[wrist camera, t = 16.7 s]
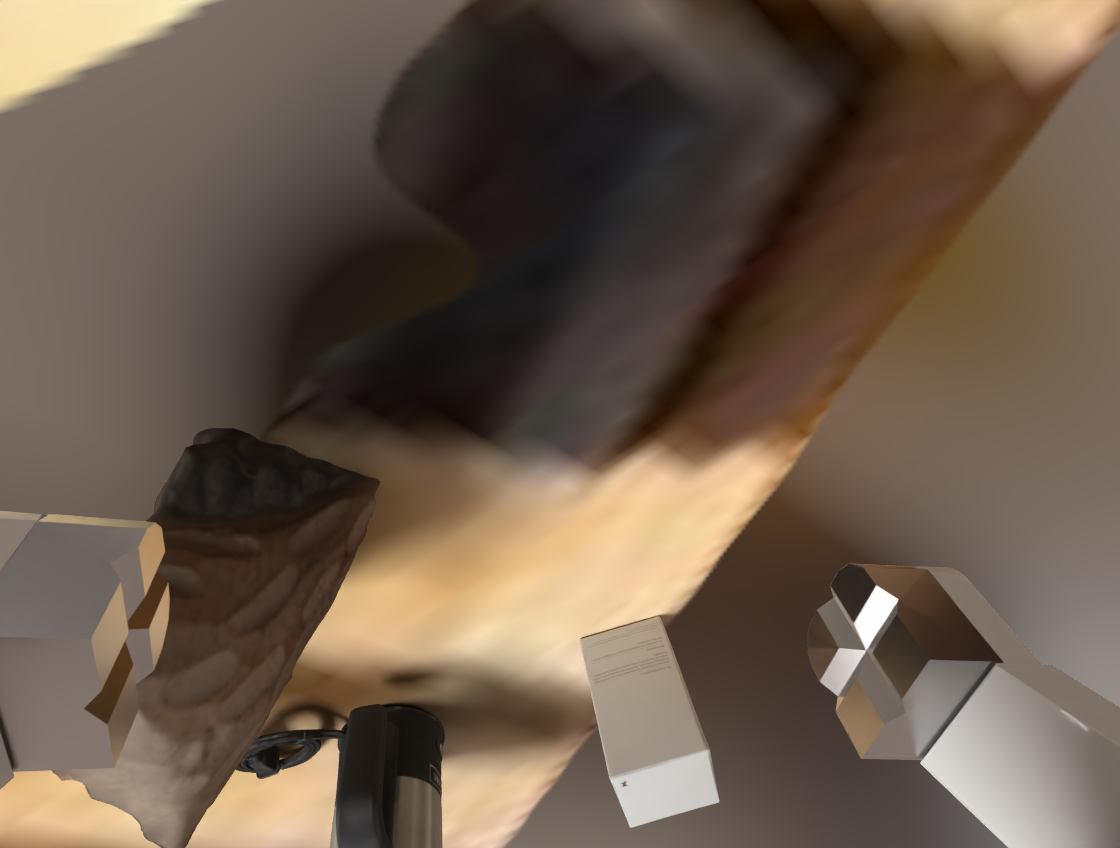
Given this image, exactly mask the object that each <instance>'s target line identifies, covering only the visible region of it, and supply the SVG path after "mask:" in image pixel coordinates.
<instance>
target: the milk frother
mask: <svg viewBox="0 0 1120 848" xmlns="http://www.w3.org/2000/svg"><path fill="white" fill-rule="evenodd" d="M327 738H333V739H338V749H339V751H340V753H339V769H338V781H337V792H336V801H335V809H334V817H333V825H332V833H331V842H330V848H442V807H441V795H442V789H441V761H442V746H443V743H444V730H443V727H442V725H441V724H440V722H439V721H438V720H437V719H436V718H435V717H433V716H432V715H430V714H428V713H427V712H424V711H422V710H419V709H415V708H410V707H400V706H399V707H396V706H390V707H385V708H384V706H383V705H381V704H375V705H367V706H362V707H359V708H355V709H354V710H352V711H351V713H350V716H349V721H348V722H347V723H346V724H345V725H344V727H343V728H342V730H330V729H315V730H294V731H285V732H278V733H273V734H268V735H265V736H261V737H258V738H256V739H255V740H254V741H253V744H252V746H251V747H250V748H249V750H248V751H247V753H246V754H245V755H244V757H243V758H242V760H241V761H240V763H239V764H238V766H237V768H236V770H238V771H242V772H251V773H256V775H257V777H258V778H259V779H264V778H267V777H270V776H272V775H276V774H278V772H279V770H280V769H282V770H284V769H287V768H290V767H293V766H296V765H299V764H301V763H304V762H306V761H307V760H309V759H310V758H312V756H314V755H315V754H316V753H317V752H318V751H319V749H320V747H321V742H320V739H327ZM289 744H301V745H305V747H304V748H303V749H302V750H300V751H299V752H297V753H296V754H294V755H292V756H289V757H287V758H284V759H281V760H279V748H278V746H280V745H289Z"/></svg>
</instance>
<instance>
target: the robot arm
mask: <svg viewBox="0 0 1120 848" xmlns="http://www.w3.org/2000/svg"><path fill="white" fill-rule="evenodd" d="M164 553H165V546H164V539H163V532H162V527H160V526H159V525H158V524H157V523H155V522H143V521H131V520H119V519H106V518H94V517H81V516H69V515H56V514H49V515H42V514H31V513H18V512H7V511H0V789H1V788H2V787H3V786H5V785H6V784H7V783H8V782H9V781H10V780H11V779H12V778H14V774H13V772H18V771H44V770H71V769H97V768H115V766H116V764H117V761H118V759H119V756H120V754H121V751H122V749H123V746H124V744H125V741H126V739H127V737H128V734H129V732H130V729H131V727H132V724H133V722H134V719H135V717H136V714H137V712H138V709H139V704H138V696H137V688H136V684H137V683H138V682H140V681H141V680H142V679H144V678H145V677H146V676H148V675H149V674H150V673H152V672H153V671H154V669H155V666H156V664H157V661H158V658H159V656H160V653H161V650H162V648H163V643H164V639H165V634H166V629H167V625H168V620H169V603H170V597H169V585H168V582H167V581H166V580H165V579H164V578H163V577H162V576H161V575H160V574H159V573H157V572H156V571H157V569H158V567H159V564H160V562H161V560H162V558H163V555H164ZM830 586H831V590H832V593H833V597H834V598H833V599H832V600H830V601H829V602H827V603H826V604H824V605H823V606H822V607H820V608H819V609H818V610H817V611H816V613H815V615H814V617H813V619H812V621H811V623H810V625H809V627H808V641H807V650H808V654H809V658H810V662H811V665H812V667H813V669H814V671H815V673H816V675H817V677H818V679H819V681H820V682H821V683H822V684H823V685H825V686H826V687H827V688H828V689H830V690H831V691H832V692H833V693H835V694H836V695H837V696H838V701H837V707H836V713H837V715H838V717H839V718H840V720H841V722H842V724H843V726H844V728H845V730H846V731H847V733H848V735H849V737H850V739H851V741H852V742H853V744H854V746H855V748H856V750H857V752H858V754H859V755H860V757H861V759H903V760H905V759H907V760H922V762H921V763H920V764H921V765H923V766H924V767H925V768H926V769H927V770H928V771H929V772H930V773H931V774H932V775H933V776H934V777H935V778H936V779H937V780H938V781H939V782H940V783H941V784H942V785H943V786H944V787H946V788H947V789H948V790H949V791H950V792H951V793H952V794H953V795H954V796H955V797H956V798H957V799H958V800H959V801H960V802H961V803H962V804H963V805H964V806H965V807H967V809H968V810H970V811H971V812H972V813H973V814H974V815H975V816H976V817H977V818H978V819H979V820H980V821H981V822H982V823H983V824H984V825H985V826H986V827H987V828H988V829H989V830H991V831H992V832H993V833H994V834H995V835H996V836H997V837H998V838H999V839H1000V840H1001V841H1002V842H1003V843H1004V844H1005V845H1006V846H1007V847H1008V848H1120V708H1119V707H1118V706H1116V705H1115V704H1113V703H1112V702H1110V701H1108V700H1107V699H1105V698H1103V697H1102V696H1100V695H1099V694H1097V693H1096V692H1094V691H1092V690H1091V689H1089V688H1088V687H1086V686H1084V685H1083V684H1081V683H1080V682H1078V681H1077V680H1075V679H1073V678H1072V677H1070V676H1068V675H1067V674H1065V673H1064V672H1062V671H1061V670H1059V669H1057V668H1056V667H1054V666H1053V665H1042V664H1041V663H1040V662H1039V661H1038V660H1037V659H1036V657H1035V656H1034V655H1033V654H1032V653H1031V652H1030V650H1029V649H1028V648H1027V647H1026V646H1025V645H1024V644H1023V642H1022V641H1021V640H1020V639H1019V638H1018V637H1017V636H1016V634H1015V633H1014V632H1013V631H1012V630H1011V629H1010V627H1009V626H1008V625H1007V624H1006V623H1005V622H1004V621H1003V619H1002V618H1001V617H1000V616H999V615H998V614H997V613H996V611H995V610H994V609H993V608H992V607H991V606H990V604H989V603H988V602H987V601H986V600H985V599H984V598H983V596H982V595H981V594H980V593H979V592H978V591H977V589H976V588H975V587H974V586H973V585H972V584H971V583H970V582H969V581H968V579H967V578H966V577H965V576H964V575H963V574H961V573H959V572H958V571H956V570H954V569H952V568H944V567H906V566H886V565H867V564H848V565H846V566H845V567H844V568H842V569H841V570H839V571H838V573H837V574H836V576H835V578H834V580H833V582H832V583H831V585H830Z"/></svg>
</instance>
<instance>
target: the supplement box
mask: <svg viewBox="0 0 1120 848" xmlns="http://www.w3.org/2000/svg"><path fill="white" fill-rule="evenodd" d="M580 645H581V649H582V654H583V659H584V663H585V668H586V672H587V677H588V681H589V686H590V690H591V695H592V700H593V704H594V709H595V714H596V718H597V723H598V727H599V732H600V736H601V741H602V746H603V750H604V755H605V760H606V764H607V768H608V774H609V777H610V780H611V783H612V785H613V787H614V789H615V792H616V794H617V797H618V799H619V801H620V804H621V806H622V809H623V811H624V813H625V816H626V818H627V821H628V823H629V826H630V827H635V826H638V825H642V824H644V823H648V822H651V821H654V820H658V819H662V818H665V817H668V816H672V815H675V814H679V813H682V812H686V811H689V810H693V809H696V808H700V807H704V806H707V805H711V804H714V803H718V802H720V801H719V797H718V792H717V786H716V781H715V776H714V770H713V764H712V758H711V753H710V748H709V746H708V744H707V741H706V739H705V737H704V734H703V732H702V729H701V726H700V724H699V721H698V718H697V715H696V712H695V710H694V707H693V704H692V701H691V699H690V696H689V693H688V690H687V688H686V685H685V682H684V679H683V676H682V673H681V671H680V668H679V665H678V662H677V660H676V657H675V654H674V652H673V648H672V646H671V643H670V641H669V638H668V635H667V633H666V630H665V627H664V624H663V622H662V620H661V618H660V616H657V617H654V618H651V619H647V620H644V621H641V622H637V623H634V624H630V625H627V626H624V627H620V628H617V629H613V630H610V631H607V632H603V633H600V634H596V635H593V636H589V637H586V638H582V639H580Z"/></svg>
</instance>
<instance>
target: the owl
mask: <svg viewBox="0 0 1120 848" xmlns="http://www.w3.org/2000/svg"><path fill="white" fill-rule="evenodd" d="M379 483H380V481H379V480H377V479H374V478H370V477H366V476H363V475H360V474H358V473H355V472H352V471H348V470H346V469H342V468H339V467H337V466H335V465H333V464H331V463H329V462H326V461H323V460H319V459H313V458H309V457H306V456H304V455H301V454H299V453H297V452H296V451H295V450H293V449H291V448H289V447H287V446H281V445H271V444H267V443H264V442H261V441H259V440H258V439H257V438H255V437H254V436H252V435H250V434H248V433H245V432H243V431H240V430H237V429H233V428H232V429H231V428H229V429H228V428H227V429H226V428H223V429H221V428H211V429H206V430H204V431H201V432H199V433H198V434H197V435H196V436H195V438H194V442H193V445H192V446H189V447H186V448H185V450H184V452H183V454H182V456H181V458H180V460H179V461H178V463H177V465H176V466H175V468H174V470H173V472H172V474H171V475H170V477H169V479H168V481H167V483H165V485H164V486H163V488H162V490H161V492H160V493H159V495H158V496H157V499H156V501H155V505H154V514H153V515H152V516H151V517H150V518H149V519H148V520H147V521H146V522H155V523H157V524H158V525H159V526H160V527H162V532H163V539H164V546H165V553H164V555H163V558H162V560H161V562H160V564H159V567H158V569H157V571H156V572H157V573H159V574H160V575H161V576H162V577H163V578H164V579H165V580H166V581H167V582H168V585H169V597H170V603H169V620H168V625H167V629H166V634H165V639H164V643H163V648H162V650H161V653H160V656H159V658H158V661H157V664H156V666H155V669H154V671H153V672H152V673H150V674H149V675H148V676H146V677H145V678H144V679H142V680H141V681H140V682H138V683H137V684H136V688H137V696H138V704H139V709H138V712H137V714H136V717H135V719H134V722H133V724H132V727H131V729H130V732H129V734H128V737H127V739H126V741H125V744H124V746H123V749H122V751H121V754H120V756H119V759H118V761H117V764H116V766H115V768H97V769H71V770H52V772H53V773H54V774H56V775H57V776H58V777H59V778H60V779H61V780H71V779H72V780H75V781H79V782H82V783H83V784H84V785H85V787H86V789H87V791H88V793H89V795H90V797H91V798H92V799H94V800H98V801H101V802H104V803H107V804H110V805H113V806H115V807H117V808H119V809H121V810H123V811H125V812H127V813H128V814H130V815H132V816H133V817H134V818H135V819H136V820H137V821H138V823H139V824H140V826H141V831H143V835H144V837H145V838H146V839H147V840H149V841H151V842H154V843H155V844H157V845H158V846H160V847H161V848H185V847H186V846H187V844H188V842H189V840H190V838H191V836H192V834H193V832H194V831H195V829H196V827H197V825H198V823H199V822H200V820H201V819H202V817H203V815H204V814H205V812H206V810H207V809H208V808H209V807H210V806H211V805H212V804H213V803H214V801H215V799H216V798H217V796H218V795H219V793H220V792H221V790H222V789H223V788H224V786H225V784H226V783H227V781H228V780H229V778H230V777H231V775H232V774H233V772H234V771H235V769H236V768H237V766H238V764H239V763H240V761H241V760H242V758H243V757H244V755H245V754H246V753H247V751H248V750H249V748H250V747H251V746H252V744H253V741H254V740H255V739H256V737H257V735H258V734H259V732H260V730H261V728H262V727H263V725H264V723H265V722H266V720H267V718H268V716H269V714H270V711H271V709H272V708H273V706H274V704H275V703H276V701H277V699H278V698H279V696H280V694H281V692H282V690H283V689H284V687H285V686H286V684H287V683H288V682H289V681H290V679H291V678H292V672H293V668H294V667H295V664H296V662H297V660H298V658H299V657H300V655H301V653H302V651H303V650H304V648H305V646H306V644H307V643H308V641H309V639H310V638H311V637H312V635H313V633H314V632H315V630H316V629H317V627H318V625H319V624H320V623H321V621H322V620H323V619H324V617H325V616H326V614H327V612H328V611H329V609H330V607H331V605H332V604H333V602H334V600H335V598H336V596H337V593H338V591H339V589H340V586H341V584H342V582H343V581H344V579H345V576H346V574H347V572H348V570H349V568H350V566H351V564H352V561H353V559H354V557H355V554H356V551H357V548H358V546H359V545H360V544H361V542H362V541H363V539H364V538H365V535H366V532H367V524H368V521H369V519H370V517H371V516H372V513H373V510H374V506H375V502H376V500H375V492H376V489H377V487H378V485H379Z"/></svg>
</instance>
